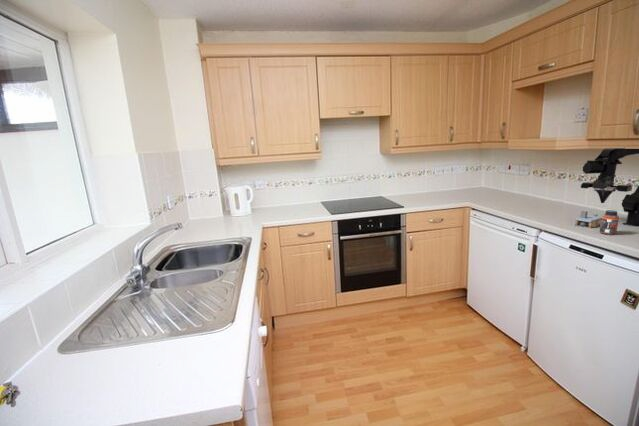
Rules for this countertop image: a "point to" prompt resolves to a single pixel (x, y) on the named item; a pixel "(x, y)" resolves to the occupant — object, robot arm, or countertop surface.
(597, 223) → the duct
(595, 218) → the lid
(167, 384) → the countertop surface
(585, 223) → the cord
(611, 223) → the supplement bottle
